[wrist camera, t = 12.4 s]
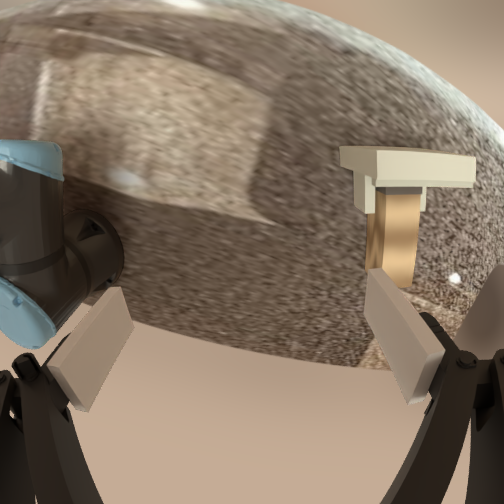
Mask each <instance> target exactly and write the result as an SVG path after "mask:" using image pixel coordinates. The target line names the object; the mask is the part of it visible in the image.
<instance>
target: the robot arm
mask: <svg viewBox="0 0 504 504" xmlns="http://www.w3.org/2000/svg"><path fill="white" fill-rule="evenodd" d="M63 181H64V177H63V154H62V150H61V148H60V146H59V145H58V144H56V143H54V142H50V141H36V140H1V139H0V330H1V331H2V332H3V333H4V334H5V335H6V336H7V337H8V338H9V339H11V340H12V341H13V342H15V343H16V344H18V345H20V346H22V347H24V348H27V349H39V348H40V347H42V346H44V345H45V344H46V343H47V341H48V340H49V339H50V338H52V337H54V336H55V335H56V333H57V331H58V330H59V329H60V328H61V327H62V325H63V324H64V323H65V322H66V321H67V320H68V318H69V317H70V316H71V315H72V314H73V312H74V311H75V310H76V309H77V308H78V307H79V305H80V304H81V303H82V302H83V301H84V300H85V299H86V298H87V297H90V296H93V295H95V294H98V293H101V292H103V291H105V290H107V291H106V292H105V293H104V294H103V295H102V296H101V297H100V299H99V300H98V301H97V302H96V303H95V304H94V306H93V307H92V308H91V309H90V311H89V312H88V313H87V314H86V315H85V316H84V318H83V319H82V320H81V321H80V322H79V324H78V325H77V326H76V327H75V329H74V330H73V331H72V332H71V333H69V334H68V335H67V336H66V337H64V338H63V339H62V340H61V342H60V343H59V344H58V346H57V347H56V348H55V349H54V351H53V352H52V353H51V354H50V356H49V357H48V358H47V360H46V361H45V363H44V364H43V365H42V366H41V367H40V365H39V363H38V361H37V360H36V358H35V356H34V355H33V354H32V353H23V354H21V355H19V356H18V357H17V358H16V359H15V360H14V361H13V363H12V368H13V369H14V371H15V373H16V374H17V376H18V377H19V378H14V377H13V376H12V375H11V373H10V371H8V370H3V371H0V504H36V502H35V495H36V499H37V502H38V504H104V503H103V501H102V499H101V497H100V495H99V493H98V491H97V488H96V486H95V483H94V481H93V479H92V476H91V474H90V471H89V469H88V466H87V464H86V461H85V458H84V455H83V452H82V449H81V446H80V443H79V440H78V437H77V434H76V431H75V427H74V424H73V420H72V417H71V413H70V410H69V409H68V407H67V405H68V403H69V401H70V402H71V404H72V405H73V406H74V408H75V409H76V410H80V411H84V412H89V410H90V408H91V406H92V404H93V402H94V400H95V398H96V396H97V395H98V393H99V391H100V389H101V387H102V385H103V383H104V381H105V379H106V377H107V375H108V374H109V372H110V370H111V368H112V366H113V365H114V363H115V361H116V359H117V357H118V355H119V354H120V352H121V350H122V348H123V347H124V345H125V343H126V341H127V339H128V338H129V336H130V334H131V333H132V331H133V329H134V325H133V322H132V320H131V317H130V314H129V311H128V308H127V305H126V302H125V299H124V296H123V293H122V290H121V287H111V286H112V284H113V283H114V282H115V281H116V280H117V279H118V277H119V276H120V274H121V271H122V268H123V261H124V256H123V249H122V245H121V242H120V239H119V237H118V235H117V233H116V231H115V230H114V228H113V227H112V225H111V224H110V223H109V222H108V221H107V220H106V219H105V218H104V217H102V216H101V215H99V214H98V213H96V212H93V211H91V210H85V209H80V210H75V211H73V212H71V213H69V214H67V215H65V216H63ZM364 316H365V318H366V320H367V322H368V324H369V325H370V327H371V329H372V331H373V333H374V335H375V337H376V339H377V341H378V343H379V345H380V347H381V349H382V351H383V353H384V355H385V357H386V359H387V361H388V364H389V366H390V368H391V370H392V372H393V374H394V376H395V378H396V380H397V383H398V385H399V387H400V389H401V391H402V393H403V396H404V398H405V400H406V403H407V405H410V404H414V403H417V402H421V401H424V399H425V397H426V395H427V393H428V391H429V393H430V395H431V397H432V399H431V401H430V403H429V405H428V407H427V409H426V411H425V412H424V414H425V416H424V419H423V421H422V424H421V426H420V428H419V431H418V433H417V435H416V438H415V440H414V442H413V444H412V446H411V448H410V451H409V453H408V455H407V457H406V459H405V461H404V463H403V465H402V467H401V469H400V470H399V472H398V474H397V476H396V478H395V480H394V481H393V483H392V485H391V487H390V488H389V490H388V492H387V493H386V495H385V497H384V498H383V500H382V501H381V503H380V504H441V502H442V500H443V498H444V496H445V493H446V491H447V489H448V486H449V484H450V481H451V478H452V476H453V473H454V471H455V468H456V465H457V462H458V459H459V456H460V453H461V450H462V447H463V443H464V440H465V436H466V432H467V429H468V425H469V421H470V417H471V449H470V450H471V451H470V466H469V478H468V486H467V494H466V500H465V504H504V349H500V350H498V351H496V353H495V355H494V357H493V359H491V360H478V358H477V357H476V356H475V355H474V354H472V353H471V352H468V351H463V350H459V349H458V347H457V346H456V345H455V343H454V342H453V341H452V339H451V338H450V337H449V335H448V334H447V333H446V331H445V332H444V329H443V328H442V326H440V324H439V323H438V321H437V320H436V319H435V318H434V317H433V316H431V315H430V314H428V313H427V312H422V313H418V312H417V311H416V310H415V308H414V307H413V306H412V304H411V303H410V302H409V301H408V299H407V298H406V297H405V296H404V294H403V293H402V292H401V291H400V289H399V288H398V287H397V286H396V284H395V283H394V282H393V281H392V280H391V278H390V277H389V276H388V275H387V274H386V272H385V271H384V270H383V269H382V268H375V269H368V278H367V288H366V297H365V306H364ZM10 410H11V411H12V412H13V414H14V418H12V417H11V416H10Z"/></svg>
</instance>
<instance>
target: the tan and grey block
mask: <svg viewBox="0 0 504 504" xmlns="http://www.w3.org/2000/svg"><path fill="white" fill-rule="evenodd" d="M422 189H423V187H375V213H370V214H367V243H366V261H365V271H366V272H367V274H368V269H375V268H382V269H383V270H384V271H385V272H386V274H387V275H388V276H389V277H390V278H391V280H392V281H393V282H394V283H395V284H396V286H397V287H398V288H403V287H409V286H411V284H412V278H413V272H414V265H415V257H416V249H417V240H418V229H419V217H420V199H421V194H422Z"/></svg>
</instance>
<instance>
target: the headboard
mask: <svg viewBox="0 0 504 504" xmlns="http://www.w3.org/2000/svg"><path fill="white" fill-rule="evenodd" d="M339 151H340V166H341V167H344V168H347V169H350V170H352V171H353V180H354V206H355V207H357V208H358V209H359V210H361V211H362V212H363V213H365V214H370V213H375V187H423V189H422V194H421V199H420V211H425V204H426V187H463V188H473V182H475V175H476V157H472V156H467V155H461V154H455V153H449V152H443V151H436V150H429V149H422V148H408V147H386V146H339Z"/></svg>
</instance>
